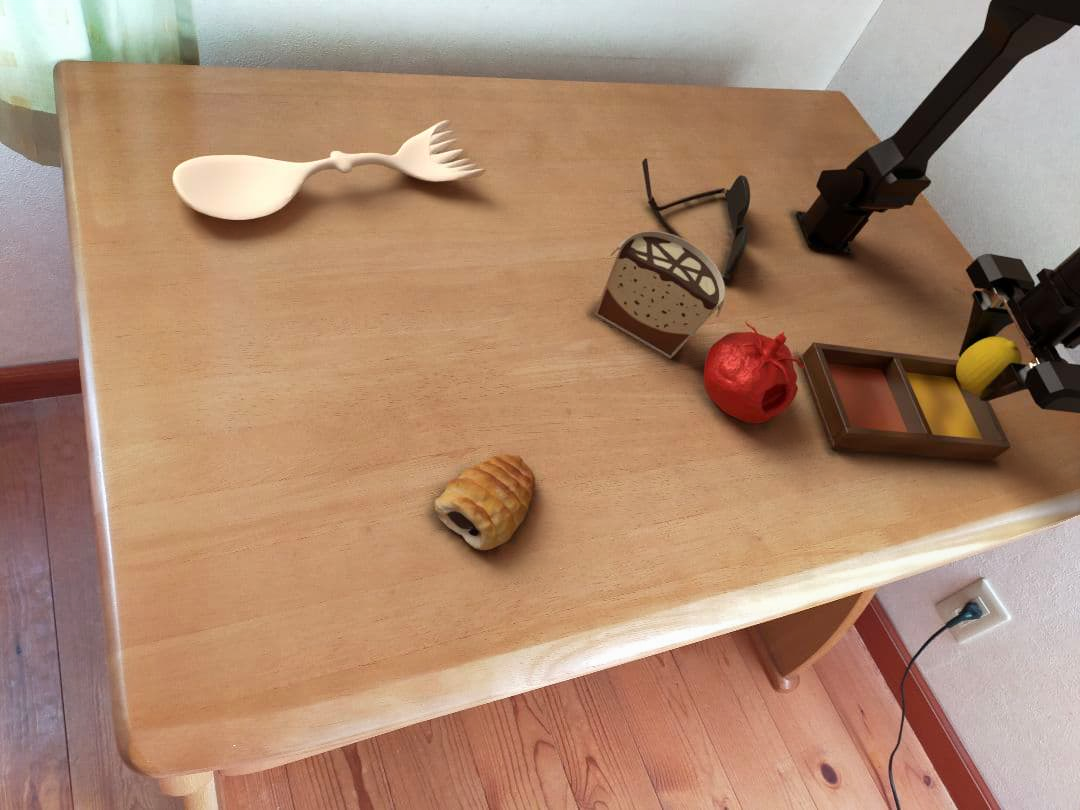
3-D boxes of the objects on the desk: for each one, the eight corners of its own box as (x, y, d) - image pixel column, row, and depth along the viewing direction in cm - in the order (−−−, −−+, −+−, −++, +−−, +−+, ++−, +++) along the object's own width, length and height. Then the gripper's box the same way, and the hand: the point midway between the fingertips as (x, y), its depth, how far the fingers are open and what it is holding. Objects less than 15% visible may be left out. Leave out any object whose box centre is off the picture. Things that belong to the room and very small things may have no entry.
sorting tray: (830, 448, 93) (847, 432, 91) (798, 359, 100) (813, 342, 97) (992, 461, 100) (1012, 447, 98) (952, 377, 107) (969, 361, 104)
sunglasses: (634, 160, 112) (649, 129, 108) (736, 199, 114) (755, 170, 110) (622, 246, 101) (639, 215, 98) (735, 287, 104) (756, 258, 100)
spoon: (481, 192, 99) (489, 168, 96) (192, 240, 82) (193, 213, 80) (444, 139, 102) (451, 114, 100) (159, 174, 86) (159, 146, 83)
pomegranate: (676, 392, 91) (718, 335, 84) (715, 342, 97) (757, 285, 90) (754, 450, 89) (804, 398, 82) (789, 396, 96) (838, 343, 89)
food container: (699, 331, 97) (743, 269, 90) (682, 366, 93) (727, 304, 86) (602, 275, 97) (638, 208, 90) (582, 307, 93) (618, 240, 86)
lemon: (987, 415, 97) (1041, 371, 90) (943, 397, 96) (995, 352, 90) (981, 378, 100) (1033, 334, 94) (938, 361, 99) (988, 315, 93)
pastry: (490, 447, 79) (502, 424, 76) (548, 495, 78) (563, 473, 75) (425, 513, 73) (435, 491, 70) (487, 565, 72) (500, 545, 70)
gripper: (1195, 369, 82) (1066, 455, 94) (1100, 226, 92) (995, 321, 104) (1107, 357, 78) (984, 448, 90) (1019, 210, 89) (919, 310, 101)
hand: (972, 378), depth 97 cm, fingers closed on lemon, 5 cm apart
